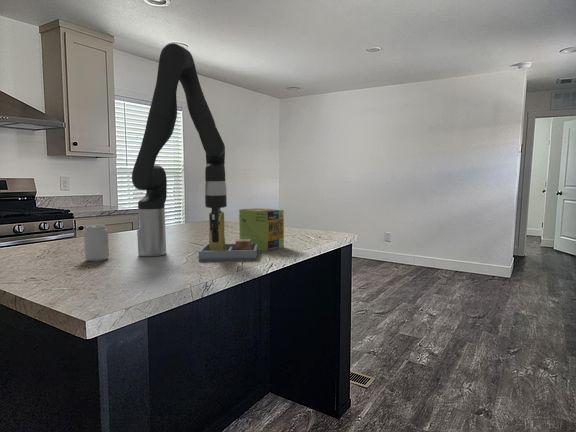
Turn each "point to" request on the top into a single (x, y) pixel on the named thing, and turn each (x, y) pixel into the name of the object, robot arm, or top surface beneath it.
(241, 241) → the walnut cube
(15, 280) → the top surface
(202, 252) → the tray
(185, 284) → the top surface
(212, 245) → the vase
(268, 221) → the protein box
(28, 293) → the top surface
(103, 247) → the can
